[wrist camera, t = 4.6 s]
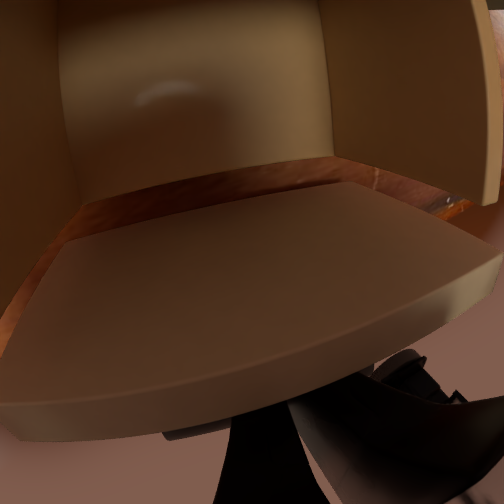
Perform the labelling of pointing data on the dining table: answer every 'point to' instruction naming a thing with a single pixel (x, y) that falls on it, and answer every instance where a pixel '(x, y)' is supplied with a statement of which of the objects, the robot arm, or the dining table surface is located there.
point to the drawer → (236, 212)
